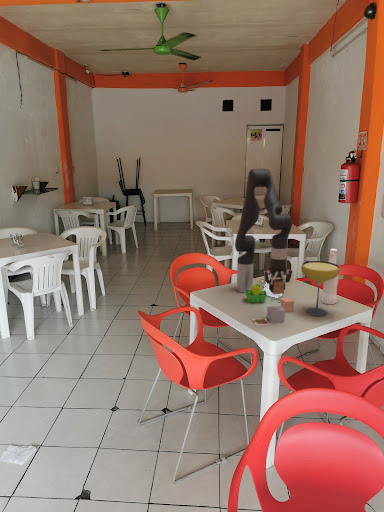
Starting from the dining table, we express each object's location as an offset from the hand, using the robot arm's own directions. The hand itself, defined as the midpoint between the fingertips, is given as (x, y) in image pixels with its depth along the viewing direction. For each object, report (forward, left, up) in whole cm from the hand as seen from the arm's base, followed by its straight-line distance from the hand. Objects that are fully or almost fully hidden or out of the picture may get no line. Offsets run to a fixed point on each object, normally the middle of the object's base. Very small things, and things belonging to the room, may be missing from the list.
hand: (276, 290), depth 186 cm
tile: (+2, -8, -15) cm, 17 cm away
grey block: (0, 0, -15) cm, 15 cm away
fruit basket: (-25, -2, -15) cm, 29 cm away
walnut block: (0, 0, -1) cm, 1 cm away
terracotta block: (-10, +10, -15) cm, 21 cm away
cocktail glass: (-5, +24, -15) cm, 29 cm away
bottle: (-17, +37, -15) cm, 43 cm away
